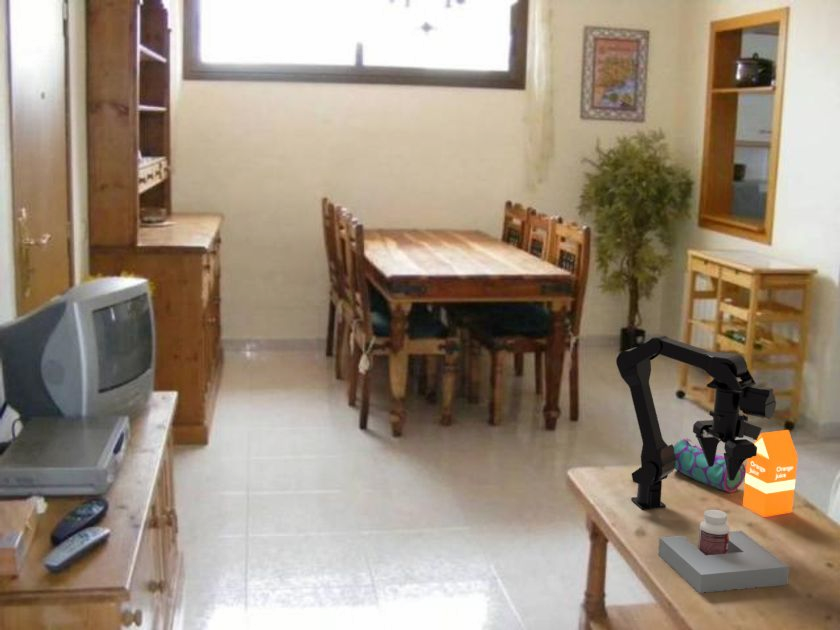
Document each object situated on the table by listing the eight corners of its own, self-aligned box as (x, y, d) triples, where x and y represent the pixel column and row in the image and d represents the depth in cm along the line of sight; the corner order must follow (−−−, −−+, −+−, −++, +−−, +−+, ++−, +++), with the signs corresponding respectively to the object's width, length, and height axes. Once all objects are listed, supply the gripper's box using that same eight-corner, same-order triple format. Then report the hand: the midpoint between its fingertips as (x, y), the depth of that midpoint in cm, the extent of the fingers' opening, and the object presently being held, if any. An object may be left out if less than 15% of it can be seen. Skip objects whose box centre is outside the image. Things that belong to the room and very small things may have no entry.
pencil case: (664, 471, 268) (666, 437, 266) (687, 466, 273) (690, 433, 271) (722, 497, 251) (726, 461, 249) (747, 491, 255) (750, 456, 253)
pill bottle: (731, 567, 211) (735, 519, 209) (703, 568, 211) (708, 519, 208) (719, 554, 217) (723, 507, 215) (692, 555, 217) (696, 508, 214)
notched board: (658, 554, 217) (659, 537, 216) (739, 547, 221) (741, 530, 221) (699, 593, 200) (701, 574, 199) (787, 584, 204) (789, 566, 204)
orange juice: (792, 512, 242) (800, 434, 238) (763, 517, 239) (771, 438, 235) (769, 500, 249) (777, 424, 245) (741, 505, 246) (749, 428, 242)
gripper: (781, 419, 220) (774, 485, 223) (736, 396, 238) (730, 457, 241) (736, 422, 218) (730, 488, 221) (694, 398, 235) (689, 460, 239)
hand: (720, 473), depth 230 cm, fingers open, 9 cm apart
